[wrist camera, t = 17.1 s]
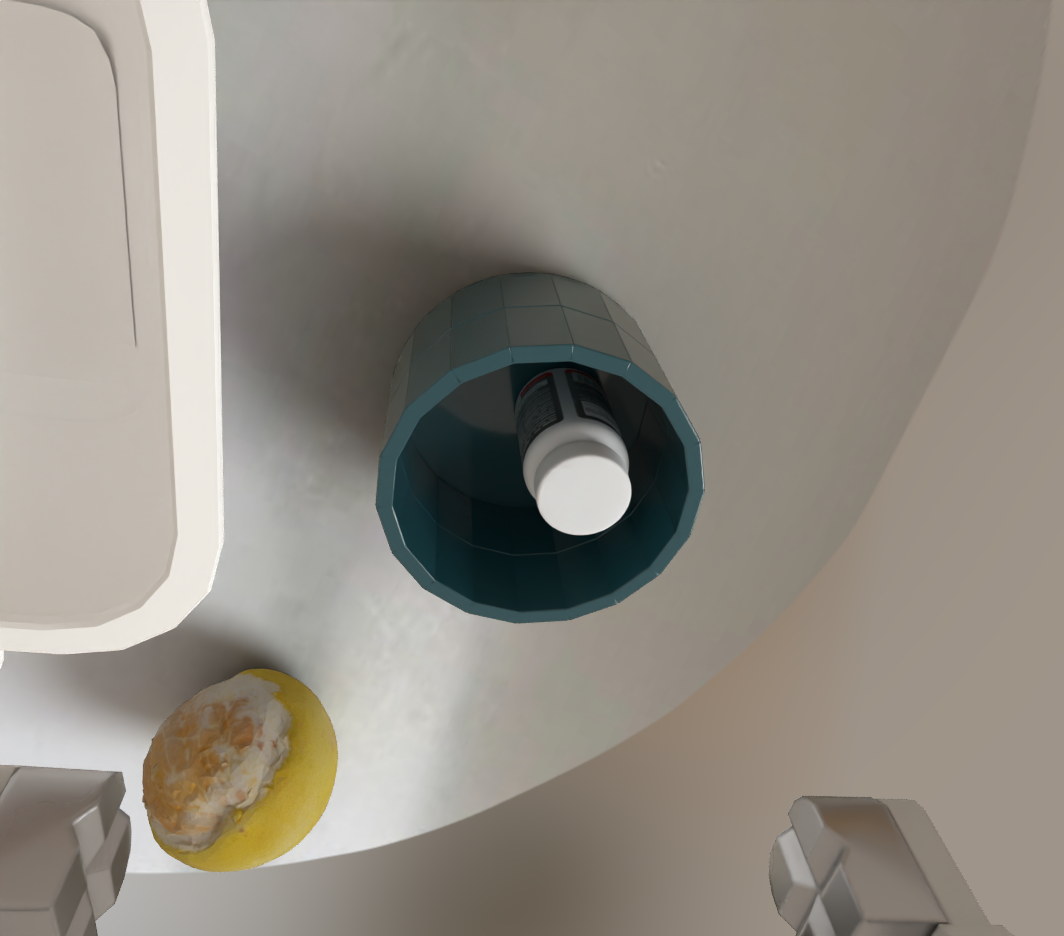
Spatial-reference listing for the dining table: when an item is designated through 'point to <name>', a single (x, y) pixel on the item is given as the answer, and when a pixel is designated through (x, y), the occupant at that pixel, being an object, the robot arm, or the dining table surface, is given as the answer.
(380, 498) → the enamel pot
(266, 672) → the fruit
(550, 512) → the pill bottle
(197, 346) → the baking dish
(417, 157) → the dining table surface
